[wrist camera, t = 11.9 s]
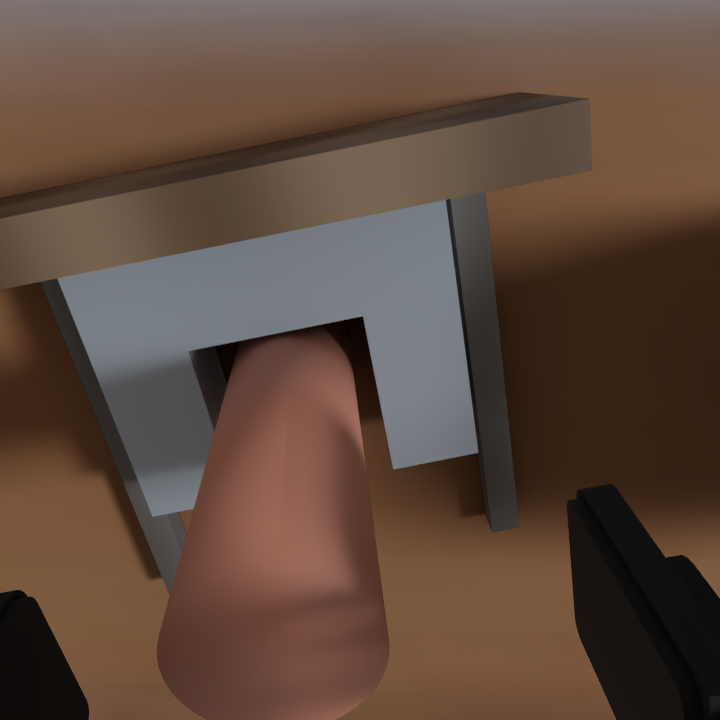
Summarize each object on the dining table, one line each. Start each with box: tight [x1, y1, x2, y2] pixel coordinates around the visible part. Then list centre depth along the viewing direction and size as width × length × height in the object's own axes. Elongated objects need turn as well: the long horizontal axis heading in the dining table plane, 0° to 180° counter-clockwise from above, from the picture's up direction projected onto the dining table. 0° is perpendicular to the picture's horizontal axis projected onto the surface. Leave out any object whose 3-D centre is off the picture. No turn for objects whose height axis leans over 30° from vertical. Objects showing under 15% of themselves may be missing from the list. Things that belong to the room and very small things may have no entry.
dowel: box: [157, 321, 389, 720], centre depth 15 cm, size 4×4×12 cm
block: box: [57, 200, 478, 517], centre depth 19 cm, size 10×8×3 cm
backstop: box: [0, 92, 592, 595], centre depth 19 cm, size 16×14×5 cm
